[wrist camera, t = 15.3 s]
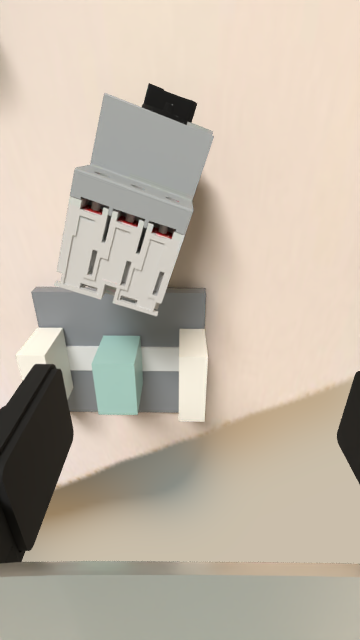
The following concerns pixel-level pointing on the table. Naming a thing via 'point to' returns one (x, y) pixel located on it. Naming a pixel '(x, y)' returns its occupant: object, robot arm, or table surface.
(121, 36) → the table surface
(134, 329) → the rail board
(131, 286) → the circuit breaker
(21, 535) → the robot arm
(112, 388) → the block
